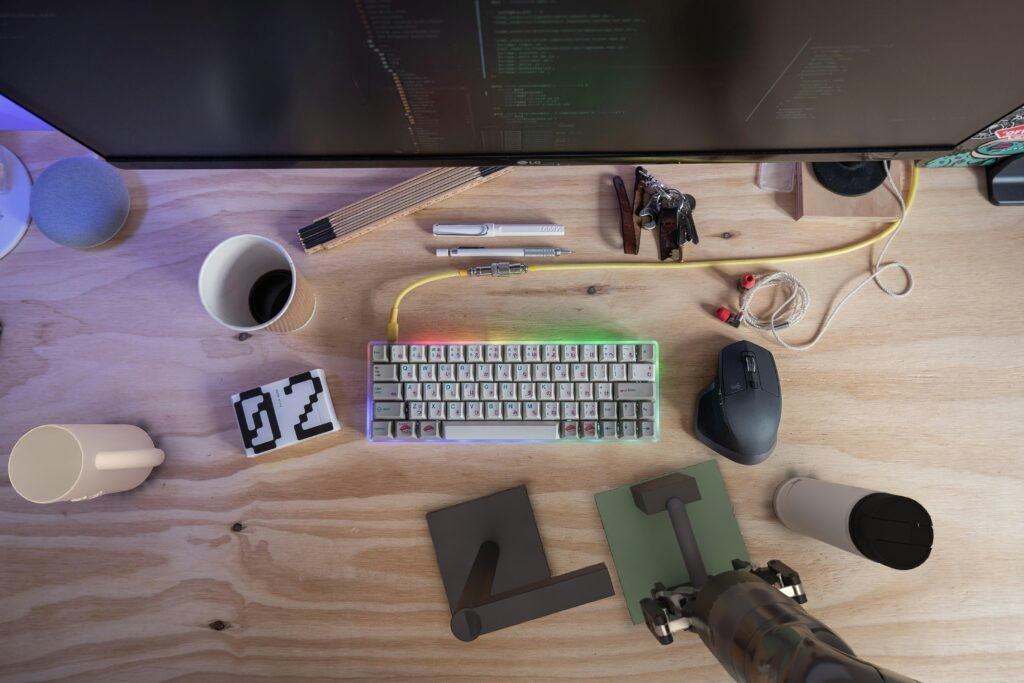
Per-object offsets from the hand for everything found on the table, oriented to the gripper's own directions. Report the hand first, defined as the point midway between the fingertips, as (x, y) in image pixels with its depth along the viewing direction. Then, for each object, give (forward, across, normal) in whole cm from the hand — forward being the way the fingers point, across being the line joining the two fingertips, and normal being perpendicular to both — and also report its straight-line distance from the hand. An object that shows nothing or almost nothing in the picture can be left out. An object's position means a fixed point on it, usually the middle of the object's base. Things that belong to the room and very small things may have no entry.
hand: (698, 580), depth 63 cm
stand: (+6, -18, +8) cm, 21 cm away
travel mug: (+6, +15, +3) cm, 17 cm away
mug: (+6, -59, +30) cm, 66 cm away
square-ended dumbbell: (+6, 0, +3) cm, 7 cm away
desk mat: (+6, 0, +3) cm, 7 cm away
